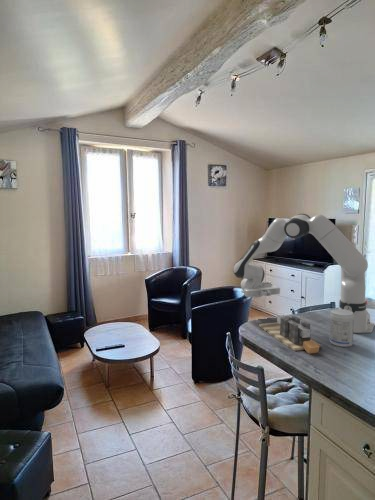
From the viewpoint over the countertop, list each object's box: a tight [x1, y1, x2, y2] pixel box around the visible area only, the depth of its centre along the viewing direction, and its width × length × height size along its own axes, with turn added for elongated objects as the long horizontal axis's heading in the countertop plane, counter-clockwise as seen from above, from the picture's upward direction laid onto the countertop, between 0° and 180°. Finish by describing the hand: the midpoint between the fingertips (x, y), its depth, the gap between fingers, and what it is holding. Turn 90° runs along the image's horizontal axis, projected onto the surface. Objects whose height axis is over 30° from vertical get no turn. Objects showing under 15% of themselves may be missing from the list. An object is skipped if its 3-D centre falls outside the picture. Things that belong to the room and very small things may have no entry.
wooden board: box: [258, 315, 321, 351], centre depth 157 cm, size 33×13×10 cm, turn 14°
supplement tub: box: [329, 308, 354, 348], centre depth 146 cm, size 10×10×15 cm
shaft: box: [276, 315, 311, 338], centre depth 152 cm, size 22×6×6 cm, turn 14°
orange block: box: [302, 339, 320, 355], centre depth 139 cm, size 3×5×5 cm
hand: (268, 294), depth 174 cm, fingers closed
